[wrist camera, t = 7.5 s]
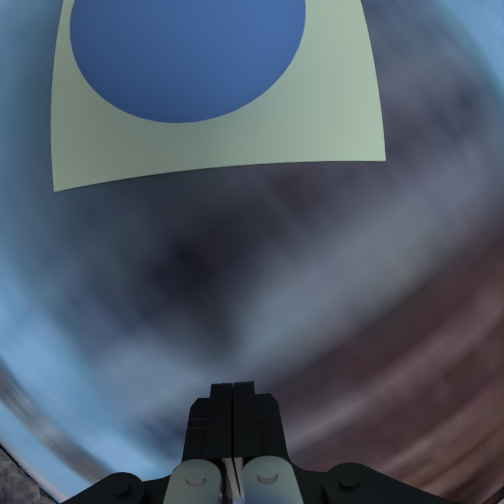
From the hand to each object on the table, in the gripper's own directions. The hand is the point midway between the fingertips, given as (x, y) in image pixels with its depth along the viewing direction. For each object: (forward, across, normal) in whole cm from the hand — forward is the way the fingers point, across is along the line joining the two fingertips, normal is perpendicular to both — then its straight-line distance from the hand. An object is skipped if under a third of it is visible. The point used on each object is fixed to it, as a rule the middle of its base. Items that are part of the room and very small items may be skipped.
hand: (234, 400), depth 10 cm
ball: (-2, 0, -12) cm, 12 cm away
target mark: (+2, 0, -14) cm, 14 cm away
